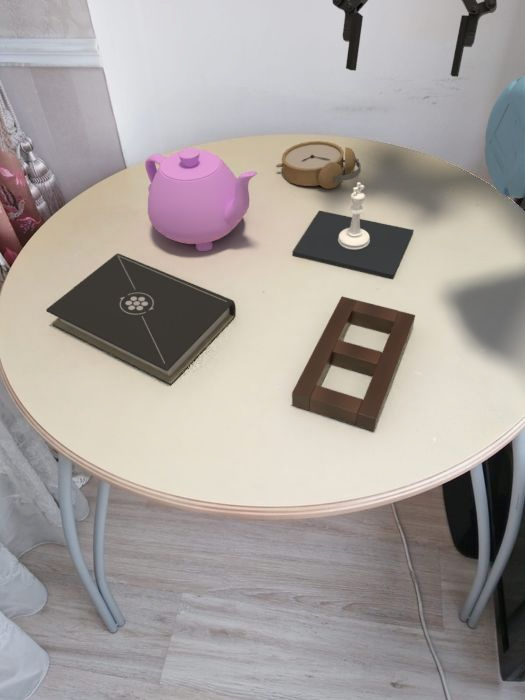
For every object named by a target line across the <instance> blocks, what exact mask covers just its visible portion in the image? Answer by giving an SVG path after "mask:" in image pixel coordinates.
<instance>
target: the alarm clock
mask: <svg viewBox="0 0 525 700" xmlns="http://www.w3.org/2000/svg"><path fill="white" fill-rule="evenodd" d="M275 166H276V168H282V175H283V177H284V179H285V180H286V181H288V182H289V183H292V184H293V185H297V186H298V185H299V186H304V187H312V186H313V187H315V186H316V187H317V186H320V187H322V188H323V189H325V190H326V189H327V190H332V189H335V188H336V187H338V185H340V183H341V182H343V181H349V180H352V179H354V178H356V177H358V176H359V175H360V174H361V170H362V165H361V162H360V160H359V158H357V157H356V154H355V151H354V150H353V149H352V148H350V147H346V146H345V148H344V150H343V148H342V146H339V145H338V144H336V143H334V142H330V141H322V140H312V141H305V142H300V143H298V144H295V145H293V146H290V147H289V148H287V149H286V150H285V151H284V152H283V153H282V155H281V163H278V164H276V165H275ZM356 167H357V169H356V170H355V168H356Z"/></svg>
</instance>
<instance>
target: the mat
mask: <svg viewBox="0 0 525 700" xmlns="http://www.w3.org/2000/svg"><path fill="white" fill-rule="evenodd" d="M351 221H352V216H348V215H343V214H338V213H333V212H328V211H324V210H318V211H317V213H316V215H314V217H313V219H312V220H311V222H310V223H309V225H308V227H307V228H306V230H305V231H304V233H303V234H302V236H301V237H300V239H299V241H298V242H297V244H296V245H295V246H294V248H293V250H292V256H293V257H297V258H302V259H305V260H310V261H314V262H319V263H322V264H326V265H330V266H335V267H340V268H344V269H347V270H352V271H357V272H361V273H366V274H370V275H374V276H378V277H382V278H387V279H391V280H394V278H395V276H396V274H397V272H398V269H399V267H400V264H401V262H402V261H403V257H404V255H405V253H406V251H407V250H408V246H409V244H410V242H411V240H412V238H413V235H414V229H410V228H407V227H402V226H397V225H391V224H387V223H383V222H377V221H372V220H368V219H362V218H360V229H363V230H365V231H366V232H367V233H368V234H369V236H370V242H369V244H368V245H367V246H366V247H364V248H362V249H356V250H353V249H347V248H345V247H343V246H341V245H340V243H339V242H338V237H339V234H340V232H341V231H343V230H344V229H347V228H350V225H351Z"/></svg>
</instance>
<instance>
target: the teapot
mask: <svg viewBox="0 0 525 700" xmlns="http://www.w3.org/2000/svg"><path fill="white" fill-rule="evenodd" d="M156 164H157V165H158V168H157V165H156ZM144 165H145V171H146V173H147V174H146V175H147V177H148V179H149V182H150V184H149V186H148V197H147V215H148V218H149V221H150V224H151V225H152V227H154V229H155V230H156V231H157V232H159V233H160V234H161V235H163V236H164V238H166V239H169V240H172V241H175V242H178V243H182V244H189V245H195V249H196V250H197V251H199V252H207V251H211V249H212V248H213V247H214V245H213V242H215V241H218V240H220V239H221V238H223V237H225V236H227V235H228V234H229V233H231V232H232V231H233V230H234V229H235V228H236V227H237V226H238V224H239V223H240V222H241V221H242V219H243V217H244V216H245V215H246V214H247V213H248V210H249V208H250V200H251V199H250V192H249V183H250V181H251V179H252V178H254V177H255V176H256V175H258V171H254V170H253V171H246V172H243V173H241V174H239V176H238V177H237V176H236V175H235V174H234V172H233V171H232V170H231V168H230V167H229V166H228V165H227V164H226V162H225V161H224V160H223V159H221V157H220V156H219V155H217V154H216V153H214V152H211V151H209V150H204V149H197V148H194V147H187V148H183V149H181V150H179V151H177V152H174V153H172V154H170V155H169V156H167V157H166V156H165V155H163V154H160V153H153V154H151V155H149V156H148V157H147V158H146V159H145V164H144Z"/></svg>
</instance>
